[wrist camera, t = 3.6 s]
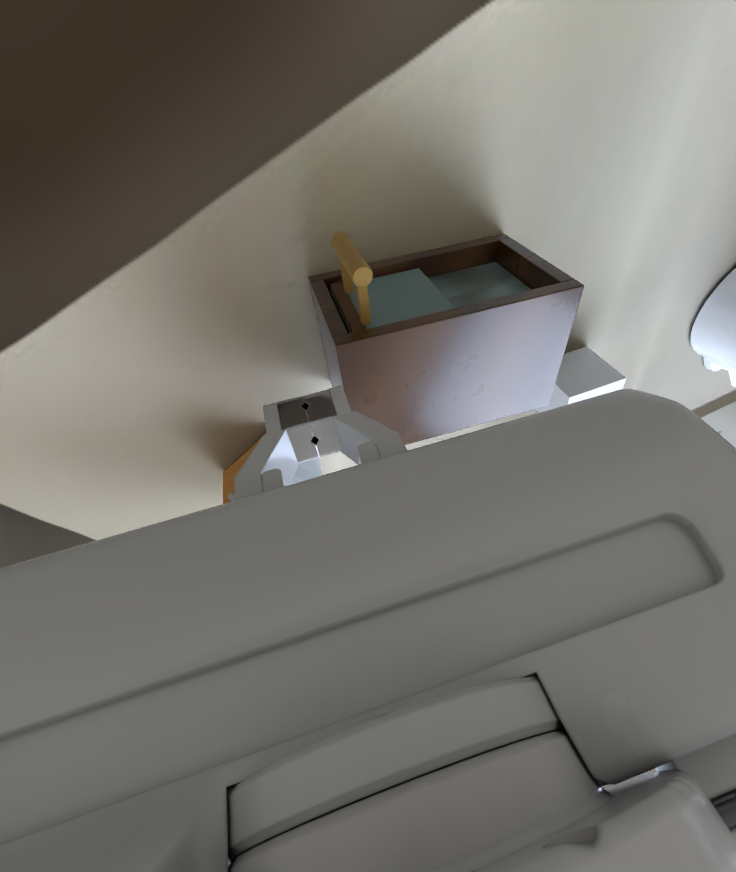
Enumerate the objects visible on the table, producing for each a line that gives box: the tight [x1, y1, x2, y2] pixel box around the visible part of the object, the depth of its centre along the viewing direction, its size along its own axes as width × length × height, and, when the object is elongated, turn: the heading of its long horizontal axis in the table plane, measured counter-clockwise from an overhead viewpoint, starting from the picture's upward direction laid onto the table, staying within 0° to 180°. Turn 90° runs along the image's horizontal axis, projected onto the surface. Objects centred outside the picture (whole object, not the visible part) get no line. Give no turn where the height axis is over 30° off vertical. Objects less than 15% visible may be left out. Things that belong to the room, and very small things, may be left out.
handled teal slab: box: [330, 232, 455, 333], centre depth 26 cm, size 7×4×7 cm, turn 96°
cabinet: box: [308, 234, 584, 445], centre depth 31 cm, size 16×10×10 cm, turn 96°
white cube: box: [534, 346, 626, 413], centre depth 43 cm, size 6×6×6 cm
